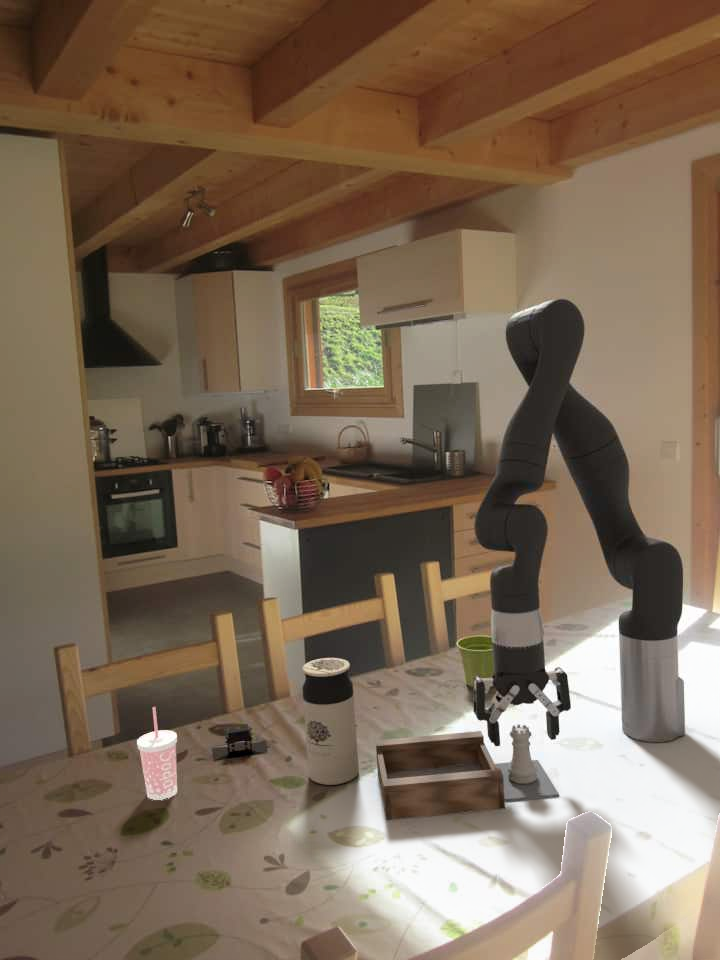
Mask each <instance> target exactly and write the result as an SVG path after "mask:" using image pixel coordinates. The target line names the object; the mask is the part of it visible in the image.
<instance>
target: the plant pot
mask: <svg viewBox="0 0 720 960" xmlns="http://www.w3.org/2000/svg"><path fill="white" fill-rule="evenodd" d="M456 647H457V648H458V651H459V654H460V655H461V661H462V666H463V672H464V677H465V684H467V685H469V686H468V687H470V686H471V687H470V688H472V687H473V679H474V677H476V676H479V677H480V678H492V676H493V674H494V662H493V647H492V635H491V636H490V635H471V636H466V637H462V638H460V639H458V640H457V641H456ZM491 688H493V687H492V686H491Z"/></svg>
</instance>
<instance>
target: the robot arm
mask: <svg viewBox="0 0 720 960" xmlns="http://www.w3.org/2000/svg"><path fill="white" fill-rule="evenodd" d="M585 331H586V330H585V321H584V317H583V315H582V312H581V311H580V309H579V308H578V307H577V305H576V304H574V303H573V302H572V301H571V300H569V299H565V298H554V299H551V300H548V301H545V302H542V303H539V304H537V305H534V306H531V307H529V308H526V309H523V310H520V311H518V312H516V313H514V314H513V315H512V316H511V317H509V319H508V321H507V324H506V327H505V341H506V345H507V349H508V352H509V353H510V356H511V358H512V361H513V362H514V363H515V365H516V367H517V369H518V371H519V372H520V374H521V376H522V378H523V379H524V381H525V382H526V385H527V386H528V389H527V391H526V393H525V394H524V396H523V398H522V400H521V401H520V403H519V405H518V406H517V408H516V409H515V411H514V413H513V414H512V416H511V418H510V420H509V422H508V424H507V427H506V428H505V432H504V436H503V439H502V443H501V448H500V452H499V458H498V464H497V469H496V473H495V475H494V476H493V478H492V480H491V482H490V484H489V486H488V488H487V491H486V493H485V494H484V497H483V499H482V501H481V502H480V504H479V507H478V509H477V512H476V515H475V519H474V535H475V538H476V541H477V542H478V543H479V545H480V546H481V547H482V548H484V549H486V550H488V551H497V552H508V553H509V552H510V553H515V556H514V560H513V563H512V564H508V565H502V566H500V567H496V568H495V569H493V570H492V572H491V574H490V576H489V587H490V603H491V617H490V628H491V630H490V631H491V637H492V647H493V662H494V674H493V676H492V678H480V677H479V676H476V677H474V679H473V688H472V689H473V690H472V691H473V695H472V696H473V699H472V700H473V702H472V704H473V706H472V707H473V714H475V716H476V719H477V720H478V721H480V722H481V721H485V722H486V726H487V727H486V728H487V737H488V738H489V741H490V743H491V744H492V743H493V745H494V747H501V738H500V724H499V721H498V720H499V719H500V717H501V715H502V714H503V713H504V712H506V710H507V709H508V708H509V706H510V705H512V706H514V707H515V706H519V705H522V704H527V705H530V704H531V705H532V704H534V702H536V701H537V700H538V701H539V702H540V704H542V705H543V707H544V708H545V709H546V710H547V711H545V718H546V733H547V736H548V738H549V739H550V740H551V741H552V740H553V741H554V740H557V736H559V735H560V719H559V718H560V717H559V716H560V713H563V712H568V711H571V708H572V704H571V697H570V688H569V687H570V686H569V680H568V679H569V678H568V674H567V673H566V671H564V670H563V669H562V668H561V667H560V666H558V667H557V666H556V667H555V668H554V670H551V671H547V670H546V662H545V661H546V660H545V658H546V657H545V643H544V641H545V640H544V636H545V631H544V630H545V629H544V628H543V627H544V625H543V624H544V623H543V619H542V613H541V607H540V606H541V604H540V592H539V591H540V588H539V578H540V573H541V572H540V571H541V568H542V567H541V565H542V563H543V562H542V561H543V560H542V559H543V557H544V551H545V547H546V544H547V538H548V529H549V528H548V521H547V519H546V516H545V514H544V513H543V511H542V510H541V509H540V508H539V507H538V506H536V505H533V504H523V503H519V504H518V503H516V502H517V500H518V499H519V498H520V497H522V496H524V495H527V494H531V493H535V492H537V491H539V490H540V489H541V488H542V487H543V485H544V481H545V476H546V471H547V465H548V459H549V455H550V447H551V443H552V437H554V439H555V441H556V444H557V446H558V448H559V451H560V454H561V457H562V458H563V461H564V463H565V465H566V467H567V469H568V472H569V475H570V477H571V478H572V480H573V482H574V485H575V486H576V488H577V491H578V493H579V496H580V498H581V499H582V502H583V505H584V507H585V509H586V511H587V513H588V515H589V518H590V520H591V521H592V524H593V527H594V530H595V533H596V536H597V539H598V542H599V545H600V548H601V551H602V555H603V558H604V561H605V564H606V566H607V569H608V571H609V573H610V575H611V577H612V579H613V580H614V581H615V582H617V583H618V584H619V585H620V586H622V587H624V588H626V589H629V590H631V591H632V602H631V604H632V605H631V609H629V610H626V611H624V612H622V613H621V614H620V615H619V617H618V641H619V645H618V646H619V670H620V671H619V672H620V676H619V677H620V702H621V726H622V727H621V728H622V729H621V730H622V732H623V733H624V734H625V735H627V737H631V738H633V739H634V740H639V741H641V742H642V741H643V742H649V743H664V742H669V741H670V742H671V741H673V740H676V739H677V738H679V737H682V736H683V737H684V736H686V715H685V714H686V713H685V711H686V710H685V709H686V708H685V707H686V706H685V682H684V679H682V677H680V676H679V674H680V673H679V648H678V647H679V646H678V645H679V644H678V626H679V622H680V620H681V617H682V614H683V598H684V594H683V593H684V568H683V562H682V561H683V560H682V558H681V557H682V556H681V555H680V553H679V551H678V550H677V547H675V545H672V544H671V543H669V542H666V541H665V540H661V539H657V538H653V537H649V536H646V534H644V532H643V530H642V529H641V527H640V525H639V523H638V521H637V519H636V516H635V515H634V512H633V510H632V507H631V504H630V503H631V502H630V497H629V489H630V488H629V485H630V466H629V465H630V464H629V460H628V456H627V453H626V452H625V448H624V446H623V443H622V442H621V440H620V438H619V435H618V433H617V431H616V428H615V426H614V425H613V424H612V422H611V421H610V419H609V418H608V417H607V416H606V415H605V414H604V413H603V412H602V411H600V409H598V408H597V407H596V406H595V405H594V404H592V403H591V402H590V401H589V400H587V399H586V398H585V397H584V396H583V395H582V394H581V393H579V392H578V391H577V390H576V388H574V386H573V385H572V384H571V383H570V382H571V378H572V376H573V373H574V370H575V366H576V365H577V362H578V358H579V356H580V353H581V350H582V347H583V342H584V339H585ZM549 681H551V683H552V684H553V685H554V686H555V690H556V698H557V700H555V701H554V702H552V701H551V699H550V698H549V697H548V696H547V695H546V693H544V690H545V688H546V687H547V685H548V683H549ZM491 686H493V688H494V689H495V690H496V693H495V694H494V695H493V697H492V698H491V699H492V700H491V702H490V704H489V706H488V707H487V709H486V694H488V693H489V691H490V689H491V688H492V687H491ZM490 687H491V688H490Z"/></svg>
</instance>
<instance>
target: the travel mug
mask: <svg viewBox="0 0 720 960" xmlns="http://www.w3.org/2000/svg"><path fill="white" fill-rule="evenodd" d="M350 667H351V664H350V662H349V661H348V660H346V659H343V658H338V657H325V658H317V659H314V660H310V661H309V662H306V663H305V664H304V665H302V668H301V669H302V672H303V673H304V676H305V680H304V683H303V685H302V688H301V689H302V700H303V701H302V702H303V715H304V725H305V728H304V729H305V738H306V742H305V743H306V753H307V754H306V755H307V764H308V766H307V767H308V776H309V779H310V780H311V781H313V782H315V783H317V784H321V785H324V786H325V785H326V786H327V785H328V786H334V785H341V784H345V783H347V782H349V781H352V780H353V779H355V778H356V777H357V775H358V774H359V772H360V770H359V757H358V756H359V753H358V744H357V743H358V740H357V739H358V737H357V728H356V726H357V725H356V714H355V712H356V710H355V698H354V697H355V695H354V686H353V685H354V683H353V680H352V679H351V678H350V676H349V669H350Z"/></svg>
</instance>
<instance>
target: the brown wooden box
mask: <svg viewBox="0 0 720 960" xmlns="http://www.w3.org/2000/svg"><path fill="white" fill-rule="evenodd" d="M484 739H485V738H484V734H483V732H482V731H481V730H478V731H477V730H476V731H467V732H465V731H464V732H454V733H443V734H432V735H423V736H422V735H421V736H410V737H401V738H398V737H397V738H387V739H377V740H375V750H376V764H377V765H376V766H377V767H376V768H377V774H378V779H379V780H378V781H379V786H380V792H381V798H382V804H383V810H384V817H385V820H386V821H389V820H392V821H393V820H401V819H410V818H411V819H413V818H423V817H430V816H431V817H432V816H433V817H434V816H443V815H444V816H445V815H453V814H464V813H474V812H475V813H476V812H485V811H495V810H505V809H506V803H505V802H506V801H505V800H504V780H503V774H502V772H501V770H500V769H497V768H496V766H495V764H496V763H495V762H494V760H493V758H492V756H491V754H490V752H489V749H488V748H487V746H486V744H485V740H484ZM475 764H478V765H479V767H480V770H471V771H461V772H460V771H459V772H449V773H448V772H447V773H439V774H430V775H429V774H428V775H418V776H406V777H405V776H404V777H395V778H388V775H387V773H388V772H400V771H411V770H412V771H413V770H421V769H432V768H434V769H435V768H442V767H455V766H465V765H466V766H467V765H475Z"/></svg>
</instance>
